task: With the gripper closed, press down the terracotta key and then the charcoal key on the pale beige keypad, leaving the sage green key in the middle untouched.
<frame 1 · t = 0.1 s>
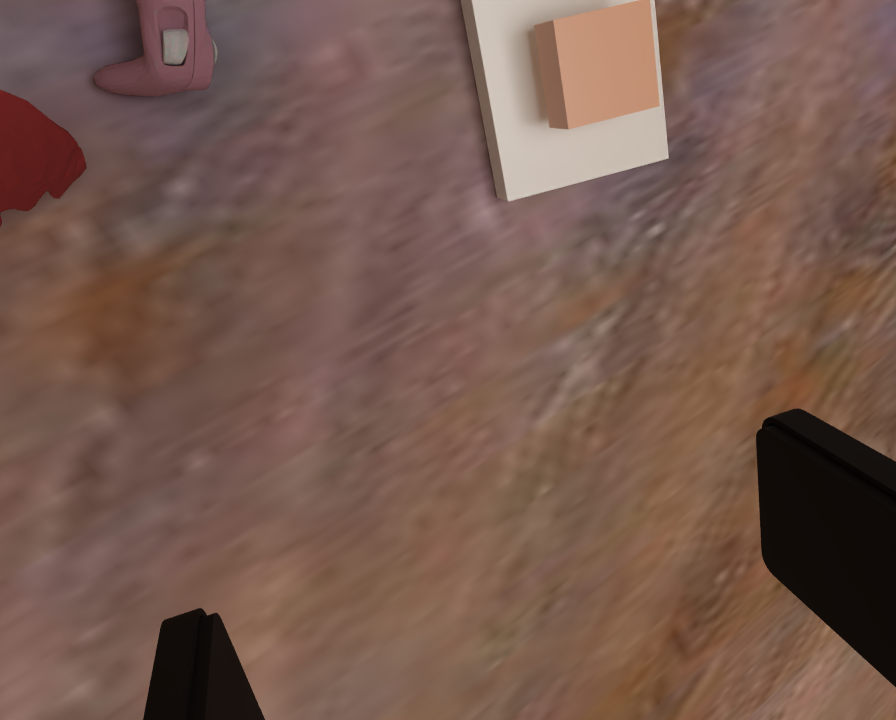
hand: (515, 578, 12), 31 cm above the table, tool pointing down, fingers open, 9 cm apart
terracotta key: (597, 65, 36), point 5 cm above the table, slide at 0.0 cm
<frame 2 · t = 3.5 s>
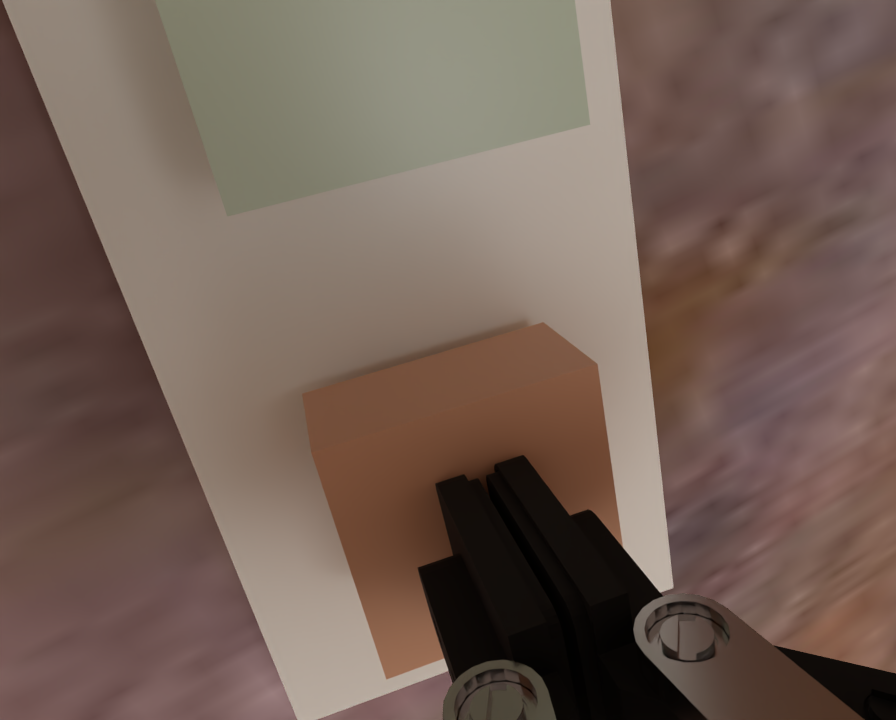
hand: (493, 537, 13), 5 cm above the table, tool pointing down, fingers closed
terracotta key: (468, 493, 14), point 4 cm above the table, slide at 0.9 cm, touching gripper
keypad base: (324, 13, 14), on the table
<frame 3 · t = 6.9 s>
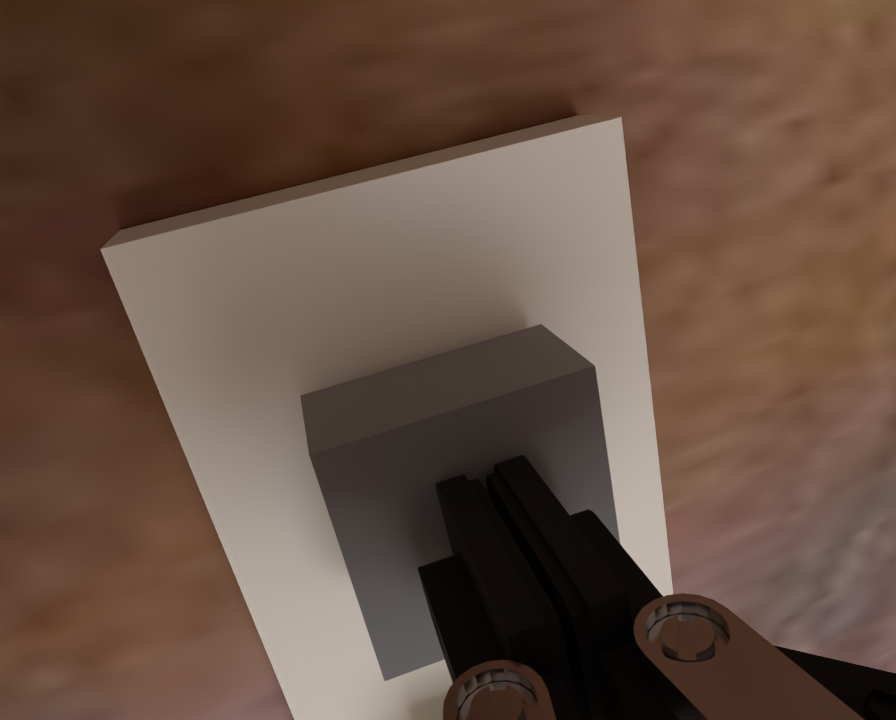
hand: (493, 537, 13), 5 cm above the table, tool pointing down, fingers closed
charcoal key: (466, 495, 14), point 4 cm above the table, slide at 1.0 cm, touching gripper
keypad base: (491, 683, 21), on the table
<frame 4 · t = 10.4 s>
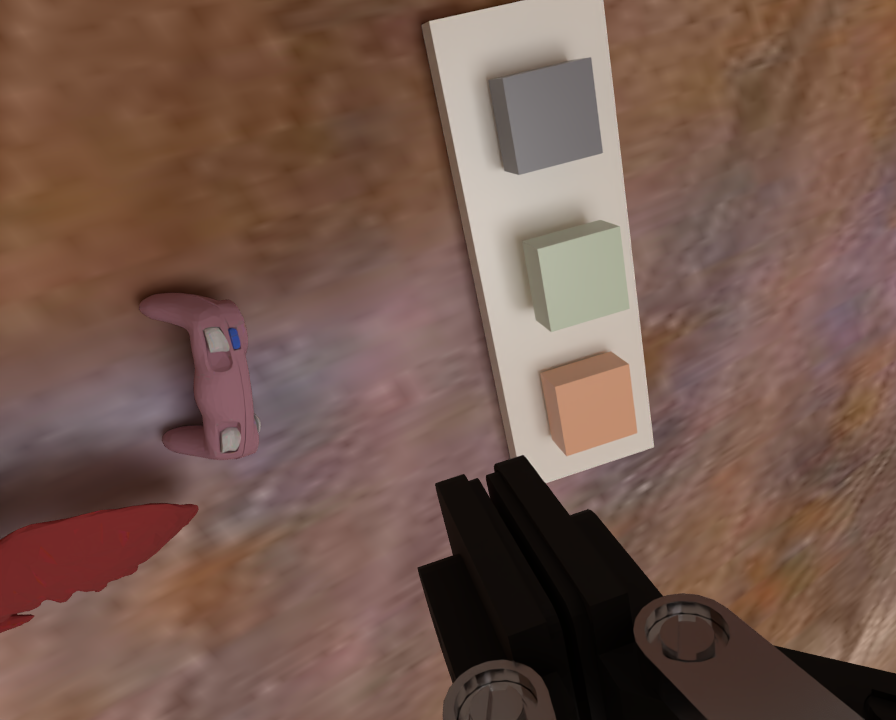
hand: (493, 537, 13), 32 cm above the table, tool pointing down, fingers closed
terracotta key: (589, 403, 46), point 4 cm above the table, slide at 1.0 cm
charcoal key: (545, 116, 39), point 4 cm above the table, slide at 1.0 cm
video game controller: (205, 363, 43), on the table
keypad base: (546, 259, 46), on the table
sage key: (576, 275, 42), point 5 cm above the table, slide at 0.0 cm
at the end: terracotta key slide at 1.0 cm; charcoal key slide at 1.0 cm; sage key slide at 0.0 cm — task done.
